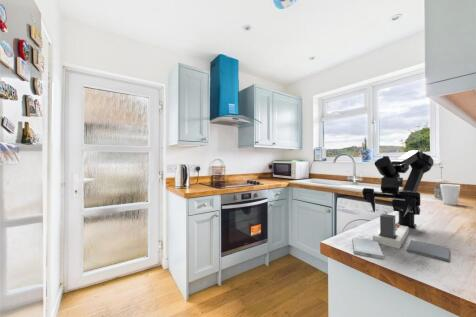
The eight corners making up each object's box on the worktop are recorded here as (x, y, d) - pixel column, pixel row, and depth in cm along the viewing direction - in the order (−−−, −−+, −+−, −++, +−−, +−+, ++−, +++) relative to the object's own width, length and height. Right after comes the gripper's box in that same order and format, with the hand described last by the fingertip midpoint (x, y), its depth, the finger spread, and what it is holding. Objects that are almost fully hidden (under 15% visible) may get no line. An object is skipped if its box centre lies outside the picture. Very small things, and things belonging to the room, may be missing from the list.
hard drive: (352, 237, 78) (354, 250, 67) (377, 241, 74) (384, 255, 63) (352, 241, 78) (354, 255, 67) (378, 245, 74) (384, 260, 63)
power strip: (385, 227, 91) (385, 221, 91) (408, 232, 85) (408, 225, 86) (372, 241, 76) (372, 233, 76) (399, 248, 70) (399, 239, 70)
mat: (411, 241, 76) (411, 239, 76) (449, 250, 69) (449, 248, 69) (406, 251, 69) (406, 248, 69) (449, 261, 61) (449, 259, 61)
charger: (382, 239, 79) (382, 213, 79) (395, 242, 76) (395, 215, 76) (380, 242, 76) (380, 215, 76) (393, 245, 73) (393, 217, 73)
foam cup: (462, 206, 131) (462, 186, 131) (443, 204, 136) (443, 185, 136) (457, 203, 139) (456, 184, 139) (438, 201, 144) (438, 183, 144)
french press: (437, 200, 150) (437, 166, 150) (428, 197, 161) (428, 166, 161) (454, 201, 147) (454, 166, 147) (444, 198, 158) (443, 166, 158)
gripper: (363, 169, 89) (357, 198, 80) (420, 171, 76) (420, 205, 68) (366, 185, 94) (361, 213, 86) (420, 189, 82) (420, 223, 74)
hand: (388, 213), depth 78 cm, fingers open, 9 cm apart
